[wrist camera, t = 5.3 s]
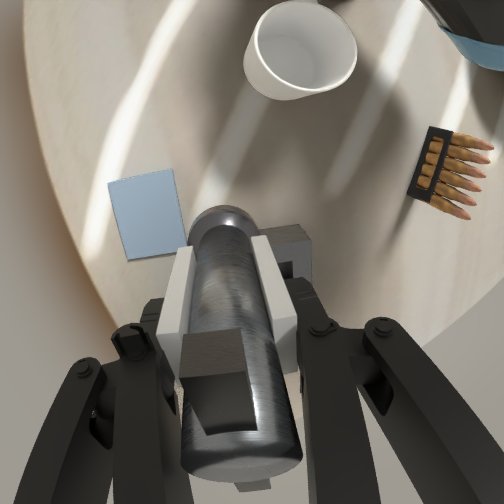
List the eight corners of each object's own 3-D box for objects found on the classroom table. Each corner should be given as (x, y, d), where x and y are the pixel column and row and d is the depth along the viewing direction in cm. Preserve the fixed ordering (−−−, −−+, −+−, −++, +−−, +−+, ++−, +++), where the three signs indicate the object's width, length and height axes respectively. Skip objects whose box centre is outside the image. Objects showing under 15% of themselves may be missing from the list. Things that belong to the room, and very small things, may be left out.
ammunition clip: (415, 198, 36) (471, 228, 25) (406, 194, 36) (463, 224, 25) (437, 131, 32) (499, 144, 21) (429, 125, 32) (492, 137, 21)
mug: (326, 22, 25) (367, -8, 16) (309, 109, 30) (348, 105, 20) (255, 4, 24) (272, -39, 14) (235, 93, 28) (243, 78, 19)
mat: (109, 182, 31) (107, 183, 30) (172, 168, 31) (171, 169, 31) (129, 257, 35) (127, 259, 35) (188, 248, 36) (187, 250, 35)
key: (179, 190, 17) (89, 390, 4) (253, 179, 17) (349, 361, 4) (200, 290, 20) (193, 500, 7) (264, 281, 20) (319, 485, 7)
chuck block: (218, 235, 35) (219, 253, 31) (299, 224, 36) (311, 239, 31) (242, 365, 45) (245, 388, 41) (302, 355, 46) (310, 377, 41)
